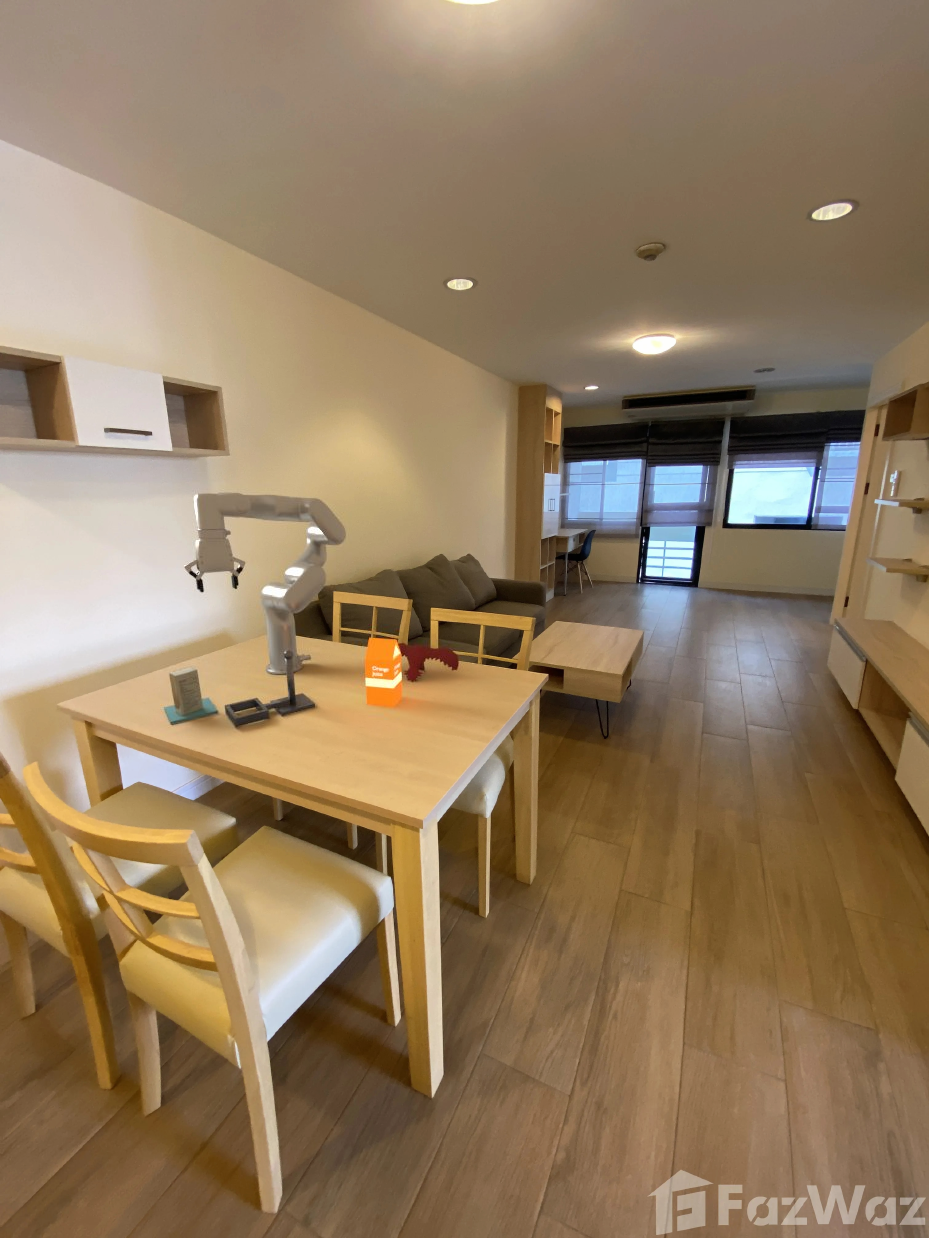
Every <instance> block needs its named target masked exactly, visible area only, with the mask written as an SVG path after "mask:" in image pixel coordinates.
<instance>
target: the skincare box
mask: <svg viewBox="0 0 929 1238" xmlns="http://www.w3.org/2000/svg"><path fill="white" fill-rule="evenodd" d="M198 672H199V671H198V669H196V668H194V667H192V666H188V667H185V668H180V669H178V670H174V671H171V672H169V673H168V676H169V681H170V687H171V695H172V699H173V705H175V711H176V712H177V713H179V714H180V715H185V714H188V713H191V712H194V711H197V710H199V709H202V708H203V703H202V699H203V697H202V692H201V686H200V685H201V684H200V679H199V673H198Z"/></svg>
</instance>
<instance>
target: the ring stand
mask: <svg viewBox="0 0 929 1238" xmlns="http://www.w3.org/2000/svg"><path fill="white" fill-rule="evenodd" d="M293 655H294V654H293V652H292V651H291V650H286V651H285V652H284V654H283V656H284V658H285V662H286V674H285V675H286V682H287V683H286V684H287V693H288V694H287V696H286V697H280V698H276V699H273V700H270V701H269V702H267V703H266V702H265V703H263V702H262V701H261V700H260V699H259V698H258V697H254V698H250V699H246V700H242V701H241V700H240V701H236V702H233V703H228V704H225V705H224V712H225V715H226V716H227V717H228V719H229V720H230V722H231V723H232V724H233V726H234V727H235V728H238V727H242V726H246V725H250V724H254V723H258V722H261V721H265V720H268V719H270V710H275V711H276V712H277V713H278V714H279V715H280V716H281V717H285V716H287V715H291V714H295V713H299V712H303V711H306V710H311V709H314V708H316V703H315V702H314V701H313V700H312V699H310V698H309V697H308V696H307V695H305V694H304V693H298V694H296V685H295V675H294V674H295V672H294V671H293V659H292V658H293ZM254 708H256V710H257V711H254V712H250V713H246V714H242V715H237V714H236V713H238V712H243V711H245V710H251V709H254Z"/></svg>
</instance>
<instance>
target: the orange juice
mask: <svg viewBox="0 0 929 1238" xmlns="http://www.w3.org/2000/svg"><path fill="white" fill-rule="evenodd" d="M398 644H399V643H398V640H397V639H393V638H392V639H390V638H377V637H369V639H368V643H367V647H366V653H365V658H364V666H365V667H364V668H365V670H364V671H365V692H366V705H370V706H380V707H381V706H382V707H392V708H394V707H395V706H396V705H398V702H400V700H402V698H403V697H402V696H403V691H402V689H403V685H402V684H403V683H402V677H403V676H402V672H403V671H402V656H401V652H400V649H399V646H398Z"/></svg>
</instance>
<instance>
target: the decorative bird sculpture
mask: <svg viewBox="0 0 929 1238" xmlns="http://www.w3.org/2000/svg"><path fill="white" fill-rule="evenodd" d="M398 646H399V649H400V652H401V658H402V657H405V658H406V660H407V663H408V665H409V668H408V669H407V670H403V672H404V675H406V676H405V677H406V678H407V680H408V681H410V682H413V681H415V682H416V681H417V679H419V677H422V675H423V673H424V674H425V673H426V672H427V670H426V667H425V662H426V659H427V661H429V660H431V661H432V660H435V661H436V662H437V661H438V660H439V663H443V666H447V668H451V671H457V670H458V669H459V663H460V662H459V655H458V654H457V653H456V652H455V651H453V650H452V649H450V648H449V647H445V646H441V647H437V648H436V647H435V648H433V647H429V646H427V645H421V644H417V645H408V644H406V643H405V642H401V643H400V642H399V643H398ZM421 674H422V675H421Z"/></svg>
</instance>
